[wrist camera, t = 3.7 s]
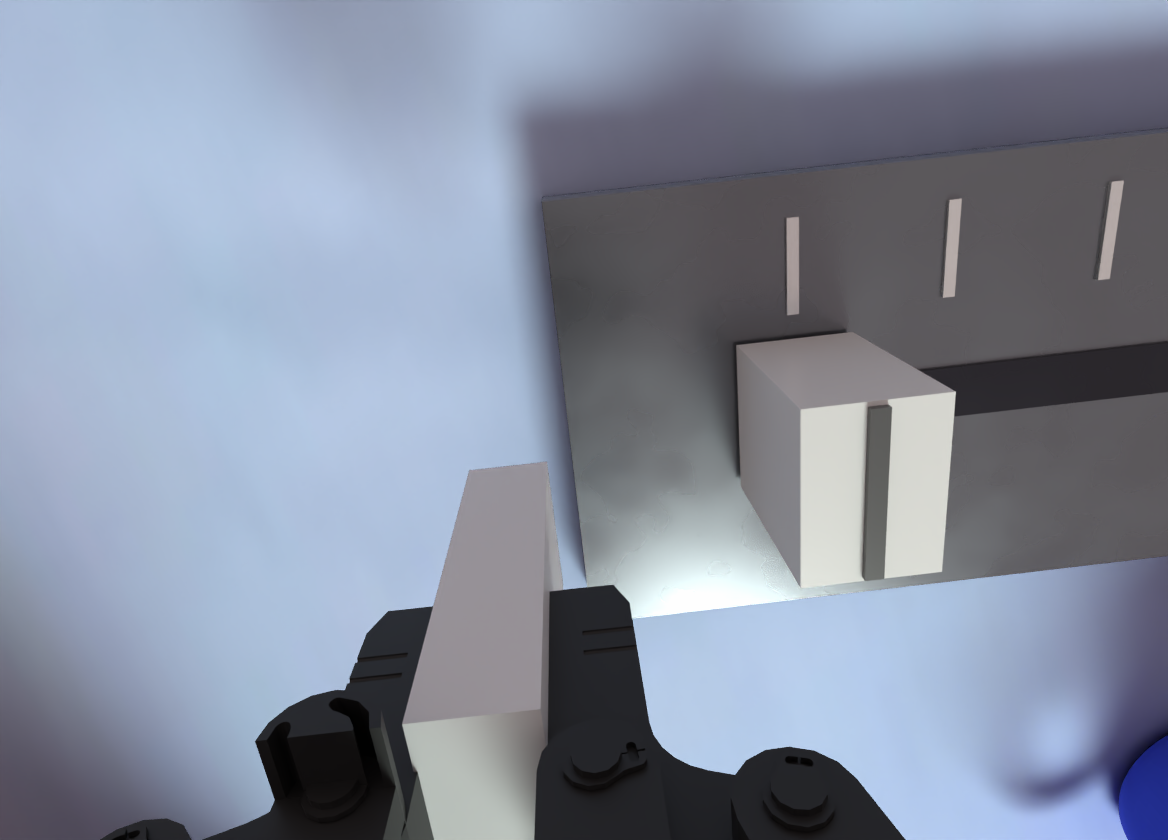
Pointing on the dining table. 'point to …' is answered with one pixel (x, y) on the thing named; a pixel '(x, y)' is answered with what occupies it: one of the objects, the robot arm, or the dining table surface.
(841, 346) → the block
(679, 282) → the console
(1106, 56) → the dining table surface
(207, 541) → the dining table surface
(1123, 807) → the mug
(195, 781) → the dining table surface
